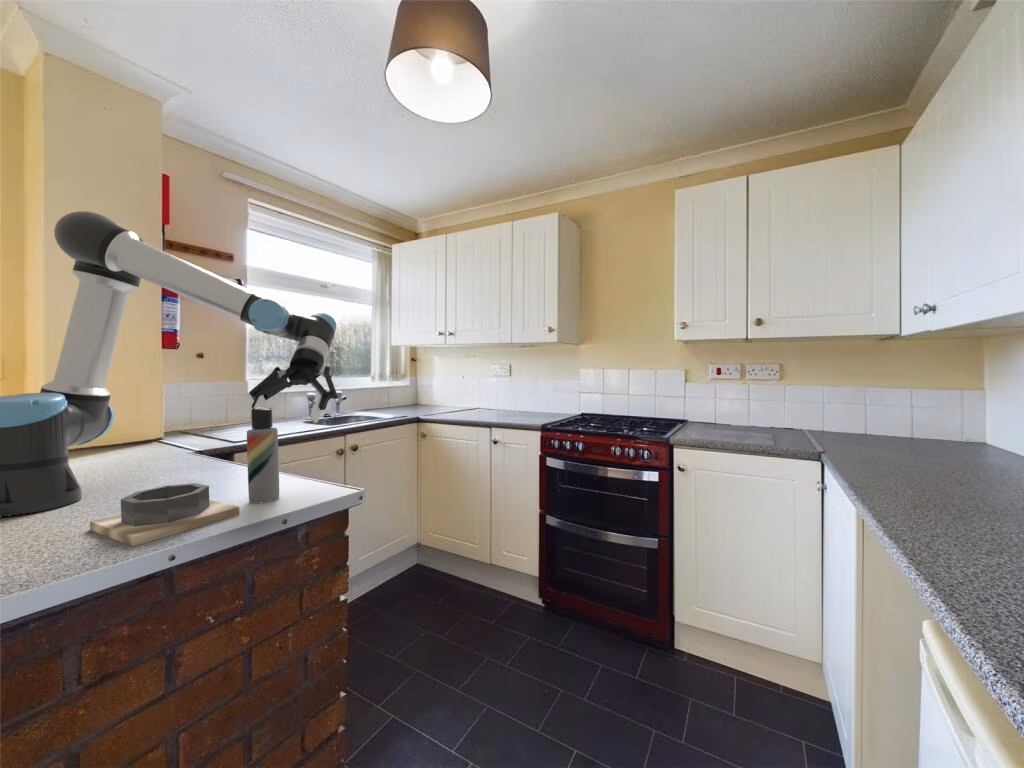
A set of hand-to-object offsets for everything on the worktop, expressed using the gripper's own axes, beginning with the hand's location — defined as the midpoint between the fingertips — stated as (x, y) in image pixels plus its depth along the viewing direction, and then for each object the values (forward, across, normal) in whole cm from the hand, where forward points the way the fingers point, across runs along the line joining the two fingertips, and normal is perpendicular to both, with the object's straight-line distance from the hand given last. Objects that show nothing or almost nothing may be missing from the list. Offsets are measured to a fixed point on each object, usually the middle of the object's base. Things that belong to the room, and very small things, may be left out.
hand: (283, 420), depth 95 cm
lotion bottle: (+17, +1, -6) cm, 18 cm away
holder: (+25, +12, +2) cm, 28 cm away
